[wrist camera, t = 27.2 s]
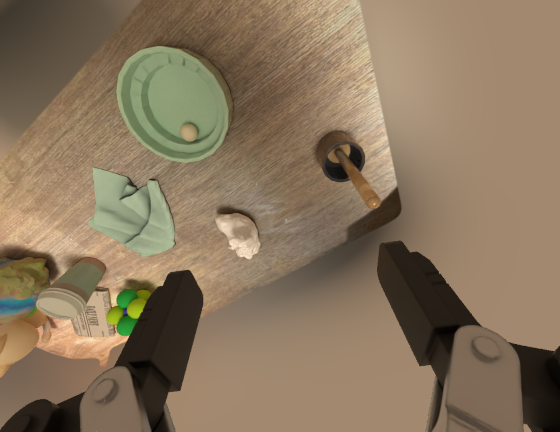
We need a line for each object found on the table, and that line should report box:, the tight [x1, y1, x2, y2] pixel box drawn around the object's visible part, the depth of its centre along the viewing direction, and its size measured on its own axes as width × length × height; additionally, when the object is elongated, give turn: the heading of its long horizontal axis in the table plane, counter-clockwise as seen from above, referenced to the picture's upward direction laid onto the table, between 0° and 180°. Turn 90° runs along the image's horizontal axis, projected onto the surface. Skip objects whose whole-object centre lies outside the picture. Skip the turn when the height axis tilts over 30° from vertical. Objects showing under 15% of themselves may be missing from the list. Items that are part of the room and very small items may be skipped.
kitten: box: [0, 307, 51, 378], centre depth 62 cm, size 15×10×15 cm
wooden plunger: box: [328, 144, 381, 209], centre depth 35 cm, size 4×4×20 cm
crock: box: [317, 131, 365, 182], centre depth 42 cm, size 7×7×6 cm
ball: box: [180, 124, 198, 142], centre depth 40 cm, size 3×3×3 cm
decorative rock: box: [0, 257, 51, 323], centre depth 52 cm, size 14×16×15 cm
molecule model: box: [106, 289, 151, 336], centre depth 60 cm, size 9×9×9 cm
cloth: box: [87, 167, 176, 257], centre depth 50 cm, size 20×22×2 cm
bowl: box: [116, 46, 233, 163], centre depth 37 cm, size 15×15×6 cm
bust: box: [215, 213, 260, 259], centre depth 49 cm, size 12×8×11 cm
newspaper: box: [71, 287, 115, 337], centre depth 68 cm, size 23×12×2 cm, turn 164°
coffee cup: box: [36, 258, 106, 320], centre depth 54 cm, size 8×8×12 cm
